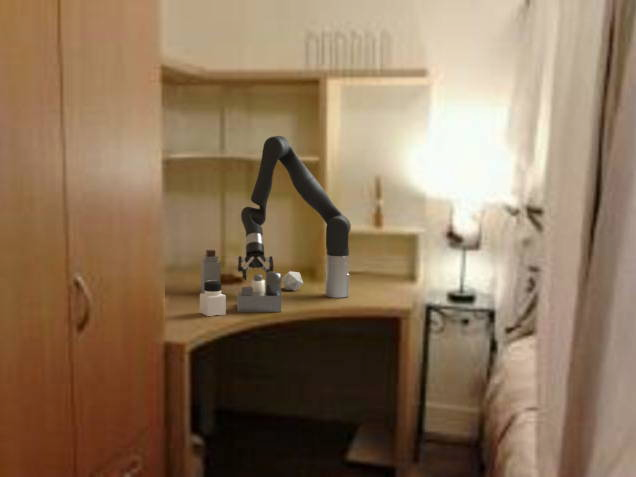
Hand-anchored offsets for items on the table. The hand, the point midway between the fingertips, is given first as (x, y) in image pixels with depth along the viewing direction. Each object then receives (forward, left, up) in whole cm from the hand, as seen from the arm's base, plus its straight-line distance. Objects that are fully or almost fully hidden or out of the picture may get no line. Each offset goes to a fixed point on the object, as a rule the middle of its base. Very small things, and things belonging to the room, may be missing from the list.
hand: (256, 278), depth 259 cm
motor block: (0, +15, -8) cm, 17 cm away
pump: (0, +12, -8) cm, 14 cm away
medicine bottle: (+17, +24, -9) cm, 30 cm away
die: (-17, -19, -9) cm, 27 cm away
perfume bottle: (+18, -12, -9) cm, 23 cm away
